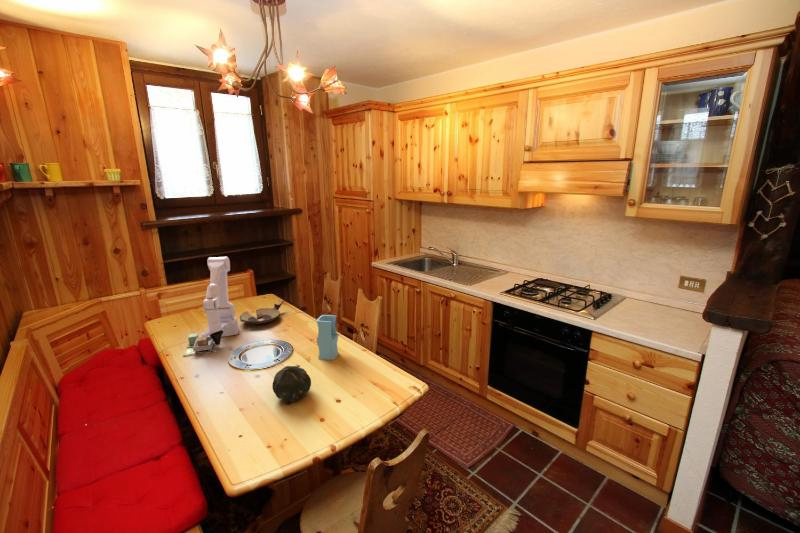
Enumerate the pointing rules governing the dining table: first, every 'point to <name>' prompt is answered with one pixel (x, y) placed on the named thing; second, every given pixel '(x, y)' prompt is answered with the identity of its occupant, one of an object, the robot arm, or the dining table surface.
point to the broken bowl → (262, 314)
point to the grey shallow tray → (205, 347)
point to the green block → (192, 338)
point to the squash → (291, 383)
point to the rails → (191, 352)
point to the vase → (327, 337)
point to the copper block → (202, 341)
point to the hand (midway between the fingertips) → (217, 344)
